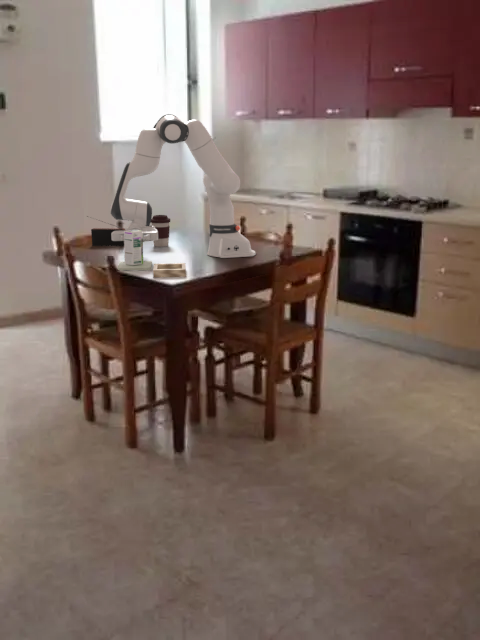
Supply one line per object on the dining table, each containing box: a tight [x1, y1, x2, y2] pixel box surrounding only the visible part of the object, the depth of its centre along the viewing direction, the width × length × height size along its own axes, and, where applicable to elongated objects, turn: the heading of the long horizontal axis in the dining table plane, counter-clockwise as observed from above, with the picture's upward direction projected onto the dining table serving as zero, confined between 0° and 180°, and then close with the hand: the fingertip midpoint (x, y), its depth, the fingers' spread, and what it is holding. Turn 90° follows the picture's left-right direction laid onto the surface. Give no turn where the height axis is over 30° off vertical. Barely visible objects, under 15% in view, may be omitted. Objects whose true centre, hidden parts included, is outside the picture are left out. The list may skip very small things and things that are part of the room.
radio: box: [86, 215, 126, 247], centre depth 363 cm, size 19×3×15 cm, turn 84°
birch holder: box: [152, 262, 187, 278], centre depth 299 cm, size 13×13×3 cm
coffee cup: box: [150, 214, 171, 248], centre depth 361 cm, size 10×10×15 cm
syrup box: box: [123, 230, 144, 265], centre depth 310 cm, size 6×6×14 cm
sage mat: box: [116, 260, 153, 272], centre depth 312 cm, size 14×14×1 cm
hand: (134, 238), depth 310 cm, fingers open, 8 cm apart
